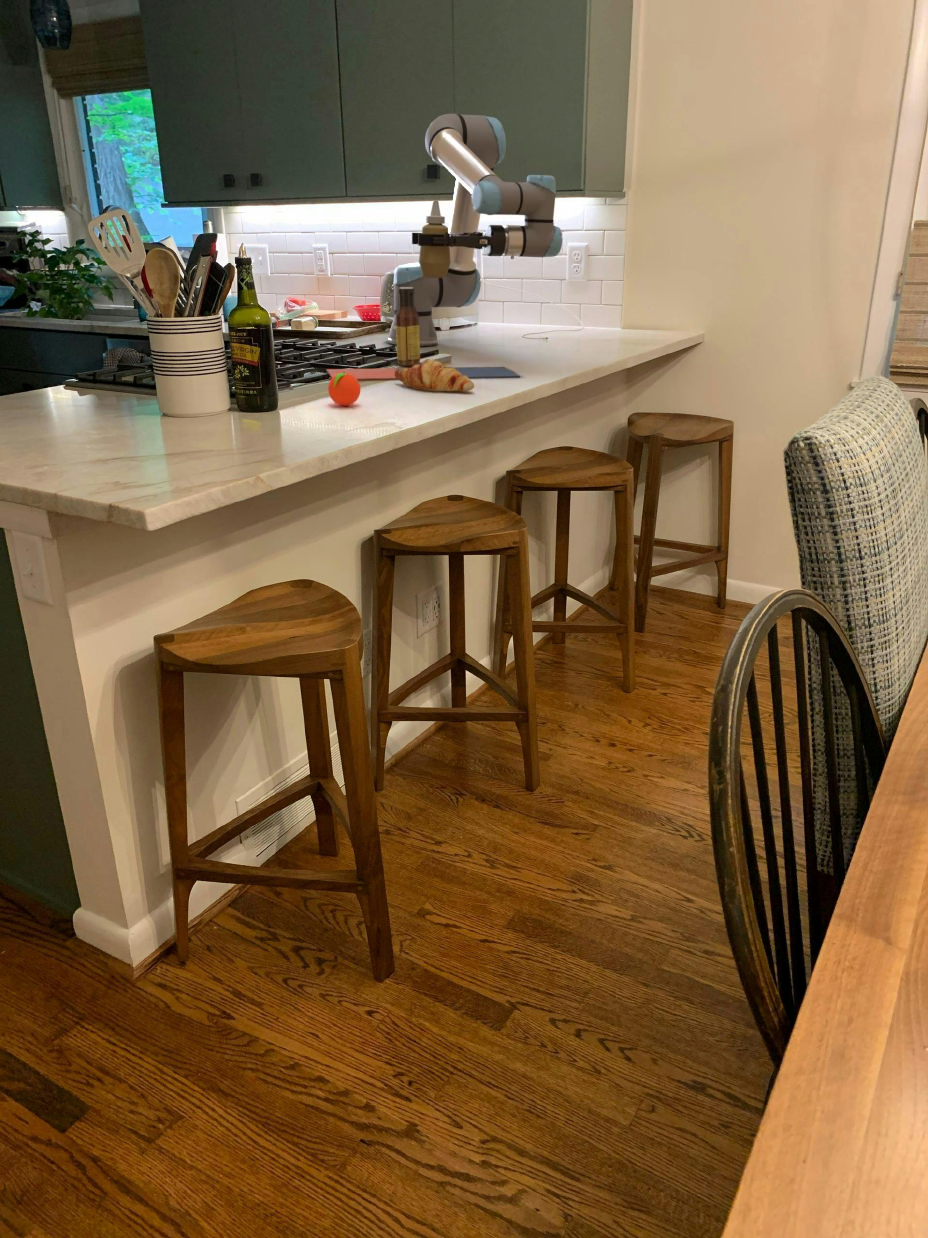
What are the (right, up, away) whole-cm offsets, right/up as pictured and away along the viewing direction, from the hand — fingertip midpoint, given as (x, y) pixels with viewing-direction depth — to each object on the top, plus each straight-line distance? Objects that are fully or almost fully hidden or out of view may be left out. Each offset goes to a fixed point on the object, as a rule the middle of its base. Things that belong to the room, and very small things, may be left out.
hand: (415, 238), depth 234 cm
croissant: (+5, -41, -12) cm, 43 cm away
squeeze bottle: (+5, -8, +5) cm, 10 cm away
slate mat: (+16, -31, +10) cm, 36 cm away
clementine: (-14, -50, -33) cm, 61 cm away
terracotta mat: (-13, -34, +2) cm, 36 cm away
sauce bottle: (-3, -27, +18) cm, 33 cm away
